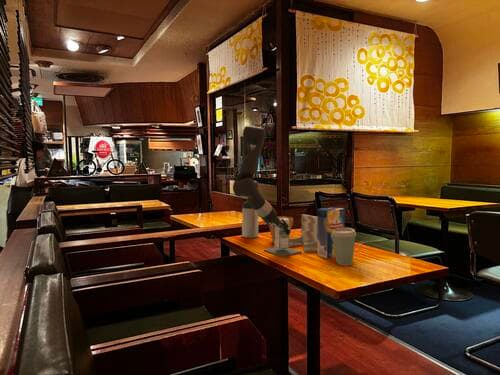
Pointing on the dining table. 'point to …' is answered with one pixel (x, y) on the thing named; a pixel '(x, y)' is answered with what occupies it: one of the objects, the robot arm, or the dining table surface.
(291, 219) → the flower pot
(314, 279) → the dining table surface
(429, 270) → the dining table surface
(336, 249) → the disposable coffee cup
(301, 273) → the dining table surface
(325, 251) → the beverage box
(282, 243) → the syrup box
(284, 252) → the mat
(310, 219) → the cubby
